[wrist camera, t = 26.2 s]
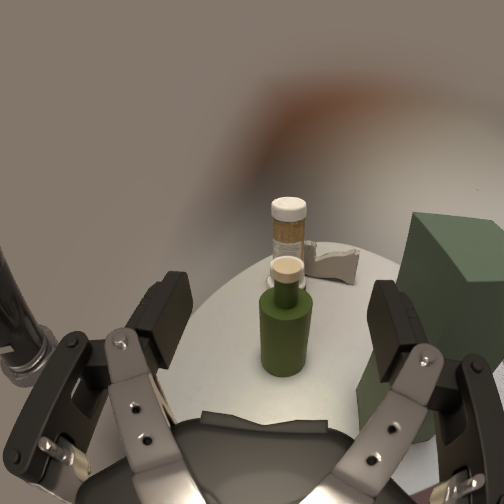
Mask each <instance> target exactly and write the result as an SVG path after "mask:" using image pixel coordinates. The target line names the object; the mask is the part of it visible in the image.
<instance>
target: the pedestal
mask: <svg viewBox="0 0 504 504" xmlns="http://www.w3.org/2000/svg"><path fill="white" fill-rule="evenodd" d="M396 287H397V289H398V292H404V293H405V294H406V295H407V296H408V297H409V298H410V299H411V300H412V303H413V305H414V307H415V311H416V312H417V315H418V318H419V319H420V322H421V324H422V327H423V329H424V332H425V335H426V337H427V340H428V343H429V344H431V345H433V346H435V347H436V348H438V349H439V350H440V352H441V353H442V355H443V358H446V359H450V360H456V361H462V360H463V358H464V357H465V356H466V355H467V354H469V353H476V354H479V355H481V356H482V357H484V358H485V359H486V361H487V362H488V364H489V366H490V369H491V372H492V373H493V372H494V371H495V369H496V368H497V367H498V366H499V364H500V363H501V361H502V360H503V359H504V231H503V230H502V229H501V228H500V227H499V226H498V225H497V224H495V223H494V222H493V221H492V220H485V219H477V218H468V217H460V216H450V215H439V214H430V213H418V212H413V214H412V219H411V225H410V229H409V233H408V238H407V242H406V247H405V251H404V255H403V259H402V263H401V267H400V270H399V274H398V278H397V281H396ZM389 389H390V385H389V382H387V383H380V380H379V375H378V369H377V364H376V359H375V354H374V349H373V352H372V354H371V357H370V359H369V362H368V364H367V366H366V369H365V371H364V373H363V376H362V378H361V380H360V382H359V385H358V387H357V389H356V392H357V401H358V412H359V424H360V432H361V431H362V429H363V428H364V427H365V425H366V424H367V422H368V421H369V419H370V418H371V417H372V415H373V414H374V412H375V411H376V409H377V408H378V406H379V405H380V403H381V402H382V400H383V398H384V397H385V395H386V394H387V392H388V390H389ZM434 435H435V427H434V420H433V414H432V410H428V411H427V414H426V416H425V418H424V420H423V422H422V424H421V426H420V428H419V430H418V432H417V434H416V436H415V437H414V439H413V441H412V443H411V444H413V443H418V442H423V441H427V440H429V439H431V438H432V437H433V436H434Z"/></svg>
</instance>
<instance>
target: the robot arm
mask: <svg viewBox="0 0 504 504" xmlns="http://www.w3.org/2000/svg"><path fill="white" fill-rule="evenodd" d="M192 308H193V299H192V294H191V289H190V285H189V280H188V275H187V273H186V272H177V271H169V272H168V273H167V274H166V276H165V277H164V279H163V280H162V282H156V283H155V284H154V285H153V286H151V287H150V288H149V289H148V291H147V292H146V294H145V295H144V298H142V300H141V302H140V305H138V307H137V308H136V310H135V311H134V313H133V314H132V316H131V318H130V319H129V321H128V323H127V324H126V326H125V327H124V328H119V329H116V330H114V331H112V332H111V333H110V334H108V336H107V337H106V339H102V340H88V338H87V336H86V335H85V333H83V332H81V331H74V332H71V333H69V334H67V335H66V336H64V337H63V338H62V340H61V341H60V343H59V344H58V346H57V348H56V349H55V351H54V352H53V354H52V356H51V357H50V359H49V361H48V362H47V364H46V366H45V368H44V369H43V371H42V373H41V375H40V376H39V378H38V380H37V382H36V383H35V385H34V387H33V389H32V391H31V393H30V395H29V397H28V398H27V400H26V403H25V404H24V406H23V409H22V410H21V412H20V415H19V417H18V419H17V421H16V423H15V425H14V427H13V430H12V432H11V434H10V436H9V439H8V441H7V443H6V446H5V448H4V451H3V462H4V465H5V467H6V469H7V470H8V471H9V472H10V473H12V474H13V475H15V476H17V477H19V478H20V479H22V480H24V481H25V482H26V483H28V484H30V485H32V486H34V487H36V488H38V489H40V490H42V491H44V492H47V493H50V494H51V495H53V496H55V497H57V498H58V499H60V500H61V501H63V502H65V503H67V504H417V503H416V502H415V501H414V500H413V499H412V498H411V497H410V496H409V495H408V494H407V493H406V492H405V491H404V490H403V489H402V488H401V487H400V486H399V485H398V484H397V483H396V482H395V481H394V480H393V479H392V478H391V476H392V474H393V473H394V471H395V470H396V468H397V466H398V465H399V463H400V462H401V460H402V458H403V457H404V455H405V453H406V452H407V450H408V448H409V446H410V445H411V443H412V441H413V439H414V437H415V436H416V434H417V432H418V430H419V428H420V426H421V424H422V422H423V420H424V418H425V416H426V414H427V411H428V410H432V414H433V420H434V427H435V435H436V443H437V452H438V464H439V480H440V483H439V484H438V485H437V486H436V487H435V489H434V490H433V492H432V494H431V498H430V500H429V504H504V411H503V407H502V403H501V400H500V396H499V393H498V390H497V387H496V384H495V381H494V378H493V375H492V372H491V369H490V366H489V364H488V362H487V361H486V359H485V358H484V357H482V356H481V355H479V354H476V353H469V354H467V355H466V356H465V357H464V358H463V360H462V361H456V360H450V359H446V358H443V355H442V353H441V352H440V350H439V349H438V348H436V347H435V346H433V345H431V344H429V343H428V340H427V337H426V335H425V332H424V329H423V327H422V324H421V322H420V319H419V318H418V315H417V312H416V311H415V307H414V305H413V303H412V300H411V299H410V298H409V297H408V296H407V295H406V294H405V293H404V292H398V289H397V287H396V285H395V282H394V281H393V280H376V281H375V283H374V287H373V291H372V294H371V298H370V302H369V305H368V309H367V322H368V326H369V331H370V335H371V340H372V344H373V349H374V354H375V359H376V364H377V369H378V375H379V380H380V383H387V382H389V385H390V389H389V390H388V392H387V394H386V395H385V397H384V398H383V400H382V402H381V403H380V405H379V406H378V408H377V409H376V411H375V412H374V414H373V415H372V417H371V418H370V419H369V421H368V422H367V424H366V425H365V427H364V428H363V429H362V431H361V432H360V433H359V435H358V436H357V437H356V439H355V440H354V439H352V438H351V437H350V436H348V435H346V434H345V433H342V432H340V431H338V430H335V429H331V428H328V420H294V421H288V422H282V423H276V424H270V425H260V424H257V423H254V422H251V421H248V420H245V419H242V418H239V417H237V416H234V415H229V414H221V413H214V412H208V411H202V414H201V418H196V419H190V420H186V421H183V422H180V423H177V421H176V419H175V417H174V415H173V413H172V411H171V409H170V407H169V404H168V402H167V400H166V397H165V395H164V392H163V390H162V388H161V385H160V382H159V380H158V377H157V375H156V373H157V371H158V368H162V369H167V370H168V368H169V366H170V363H171V361H172V358H173V356H174V354H175V351H176V349H177V346H178V344H179V341H180V339H181V337H182V334H183V332H184V329H185V327H186V325H187V322H188V320H189V317H190V315H191V313H192ZM46 347H47V337H46V335H45V333H44V332H43V330H42V329H41V328H40V326H39V325H38V323H37V321H36V320H35V318H34V316H33V314H32V313H31V311H30V309H29V307H28V305H27V303H26V301H25V300H24V298H23V296H22V294H21V292H20V290H19V288H18V286H17V284H16V282H15V280H14V278H13V275H12V273H11V271H10V269H9V266H8V264H7V262H6V259H5V257H4V255H3V252H2V250H1V247H0V357H1V359H2V360H3V362H4V363H5V365H6V366H7V367H8V368H9V369H10V370H11V371H13V372H23V371H26V370H28V369H30V368H32V367H33V366H34V365H35V364H37V363H38V361H39V360H40V359H41V358H42V356H43V355H44V353H45V350H46ZM78 378H80V379H81V380H80V383H79V384H78V387H77V388H76V391H75V393H74V395H73V397H72V399H71V393H72V391H73V388H74V386H75V384H76V382H77V380H78ZM108 395H109V397H110V401H111V405H112V409H113V413H114V417H115V420H116V424H117V428H118V431H119V435H120V438H121V441H122V444H123V447H124V450H125V453H126V456H125V457H124V458H122V459H121V460H119V461H117V462H116V463H114V464H112V465H110V466H109V467H107V468H105V469H104V470H102V471H100V472H99V473H96V474H95V475H93V476H91V477H88V475H89V474H90V472H91V469H90V467H89V461H88V458H87V456H86V452H87V449H88V446H89V444H90V441H91V438H92V435H93V433H94V430H95V427H96V425H97V422H98V420H99V417H100V414H101V412H102V409H103V407H104V405H105V402H106V400H107V397H108Z"/></svg>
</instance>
